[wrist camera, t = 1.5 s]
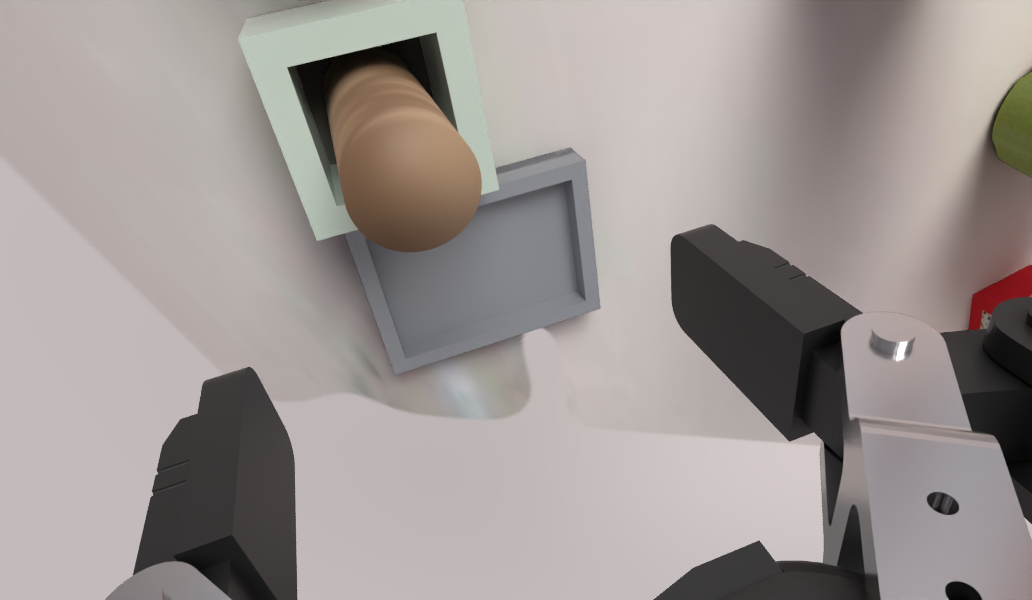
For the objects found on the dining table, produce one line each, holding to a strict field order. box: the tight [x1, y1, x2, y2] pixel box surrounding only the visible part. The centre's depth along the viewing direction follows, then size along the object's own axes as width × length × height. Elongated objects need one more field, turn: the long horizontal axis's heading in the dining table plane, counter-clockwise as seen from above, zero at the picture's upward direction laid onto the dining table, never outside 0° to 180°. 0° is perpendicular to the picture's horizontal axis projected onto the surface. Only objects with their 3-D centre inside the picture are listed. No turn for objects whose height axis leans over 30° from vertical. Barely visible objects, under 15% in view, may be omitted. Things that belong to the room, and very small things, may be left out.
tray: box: [344, 148, 600, 375], centre depth 33 cm, size 12×9×2 cm
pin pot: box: [238, 0, 499, 241], centre depth 26 cm, size 8×8×5 cm
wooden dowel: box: [323, 46, 482, 252], centre depth 23 cm, size 4×4×12 cm
